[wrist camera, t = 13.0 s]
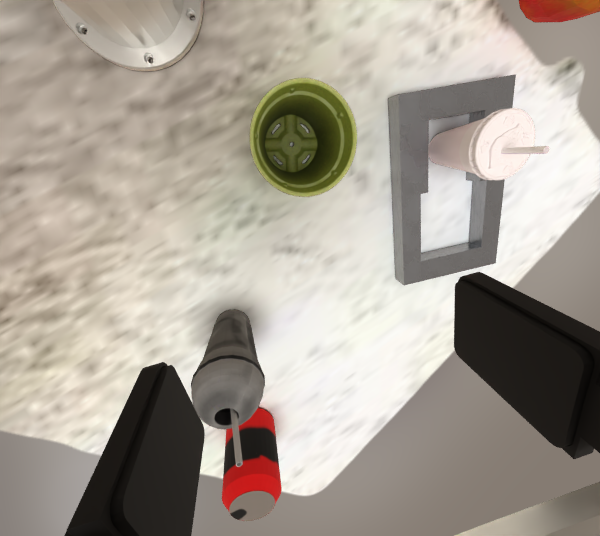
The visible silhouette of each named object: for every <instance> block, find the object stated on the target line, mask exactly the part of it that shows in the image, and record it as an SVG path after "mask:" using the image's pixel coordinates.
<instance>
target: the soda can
mask: <svg viewBox="0 0 600 536" xmlns="http://www.w3.org/2000/svg"><path fill="white" fill-rule="evenodd" d="M238 427H239V436H240V444H241V453H242V461H243V464H242V465H241V466H240V467H237V466H236V461H235V451H234V441H233V430H232V428H231V429H227V431H226V446H225V461H224V476H223V491H222V501H223V504H224V505H225V507H226V508H227V509H228V511H229V512H230V514H231V516H233V517H234V518H235V519H238V520H242V521H252V520H256V519H259V518H262V517H264V516H266V515H267V514H269V513H270V512H271V511H272V509H273V508H274V506H275V503H276V501H277V500H278V498H279V496H280V494H281V480H280V471H279V462H278V453H277V444H276V435H275V426H274V419H273V417H272V415H271V414H270V413H269V412H267V411H266V410H264V409H261V408H258V409H257V410H256V411H255V413H254V414H253V415H252V416H251V418H250V419H248V420H247V421H246V422H244V423H243V424H242V425H239V426H238Z"/></svg>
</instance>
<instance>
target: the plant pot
mask: <svg viewBox="0 0 600 536" xmlns="http://www.w3.org/2000/svg"><path fill="white" fill-rule="evenodd" d="M300 123H301V124H304V125H305V126H307V128H308V129H309V133H307V132H306V130H305V129H304V128H303V127H302V126H301V125H300ZM277 124H280V125H281V126H280V127H279V128H278V129H277V130H276V131H275V133H274V134H272V131H273V129H274V128H275V126H276V125H277ZM291 142H293V143H294V146H293V147H291V146H290V143H291ZM356 144H357V130H356V124H355V120H354V117H353V114H352V112H351V110H350V108H349V106H348V104H347V102H346V101H345V100H344V98H343V97H342V96H341V95H340V94H339V93H338V92H337V91H336V90H335V89H334V88H332V87H331V86H329V85H327V84H325V83H323V82H321V81H318V80H315V79H310V78H296V79H291V80H288V81H285V82H282V83H280V84H279V85H277V86H275V87H274V88H273V89H271V90H270V91H269V92H268V93H267V94H266V95H265V96H264V97H263V99H262V100H261V101H260V103H259V104H258V106H257V108H256V110H255V112H254V115H253V118H252V121H251V126H250V149H251V153H252V157H253V160H254V162H255V165H256V166H257V168H258V170H259V172H260V173H261V174H262V176H263V177H264V178H265V179H266V180H267V181H268V182H269V183H270V184H271V185H272V186H274V187H275V188H277V189H278V190H280V191H282V192H284V193H287V194H289V195H293V196H299V197H310V196H315V195H319V194H322V193H324V192H326V191H328V190H330V189H331V188H333V187H334V186H335V185H336V184H338V183H339V181H340V180H341V179H342V178H343V177H344V176H345V174H346V173H347V171H348V170H349V168H350V166H351V164H352V161H353V158H354V155H355V151H356ZM309 154H310V158H309V159H308V161H307V162H306V163H305V164H302V162H303V160H305V159H306V157H307V156H308V155H309ZM274 155H275V156H276V157H277V159H278V160H279V161H281V162H282V163H283V165H279V164H278V163H277V162H276V161H275V160H274V158H273V156H274Z"/></svg>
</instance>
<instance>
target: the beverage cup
mask: <svg viewBox="0 0 600 536" xmlns="http://www.w3.org/2000/svg"><path fill="white" fill-rule="evenodd" d="M264 386H265V378H264V374H263V372H262V370H261V367H260V364H259V362H258V359H257V354H256V349H255V344H254V339H253V334H252V329H251V325H250V322H249V319H248V316H247V315H246V314H245V313H243V312H242V311H240V310H228V311H225V312H223V313H222V314H220V316H219V317H218V318H217V321H216V323H215V325H214V328H213V331H212V334H211V337H210V340H209V343H208V346H207V349H206V352H205V355H204V358H203V360H202V362H201V363H200V365H199V367H198V369H197V371H196V372H195V374H194V375H193V379H192V382H191V388H192V400H193V406H194V408H195V410H196V412H197V414H198V415H199V417H200V418H201V420H203V421H204V422H205V423H206V424H208V425H209V426H212V427H215V428H218V429H231V428H232V430H233V441H234V451H235V461H236V466H237V467H240V466H241V465H242V464H243V461H242V453H241V444H240V436H239V427H238V426H239V425H242V424H243V423H244V422H246V421H247V420H248V419H250V418H251V416H252V415H253V414H254V413H255V411H256V410H257V409H258V407H259V404H260V401H261V399H262V396H263V389H264Z"/></svg>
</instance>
